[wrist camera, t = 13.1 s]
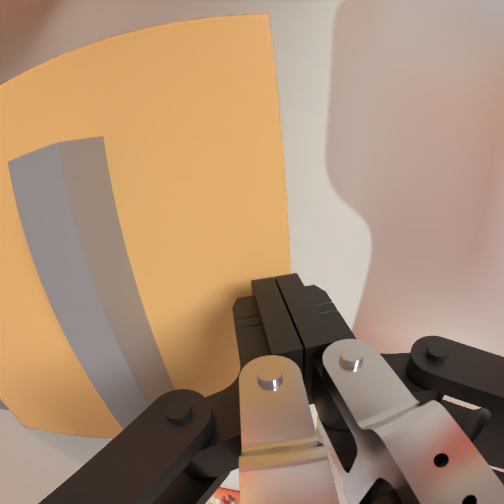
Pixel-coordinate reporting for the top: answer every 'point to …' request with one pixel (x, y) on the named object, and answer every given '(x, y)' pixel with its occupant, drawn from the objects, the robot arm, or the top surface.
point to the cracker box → (224, 497)
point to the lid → (136, 219)
